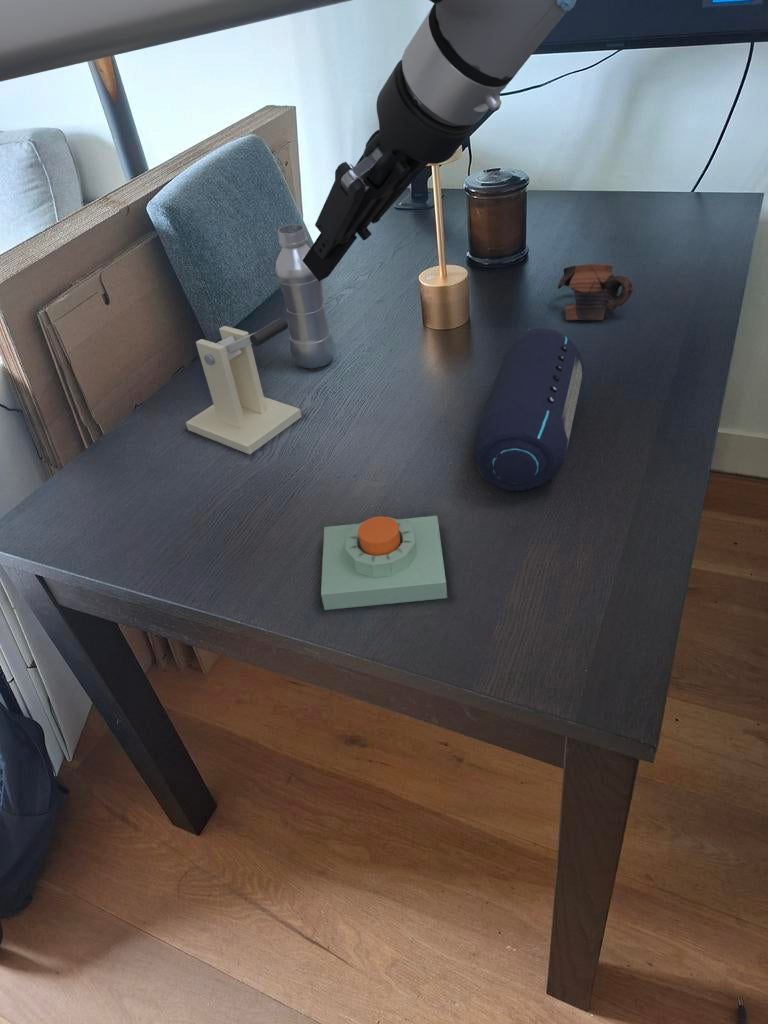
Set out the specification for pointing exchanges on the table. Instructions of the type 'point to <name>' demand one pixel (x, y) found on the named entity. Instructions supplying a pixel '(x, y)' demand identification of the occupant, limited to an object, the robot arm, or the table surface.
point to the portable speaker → (530, 411)
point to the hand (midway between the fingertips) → (315, 268)
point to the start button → (379, 536)
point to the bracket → (238, 399)
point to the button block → (383, 567)
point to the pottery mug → (594, 291)
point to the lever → (253, 338)
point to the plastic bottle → (303, 301)
